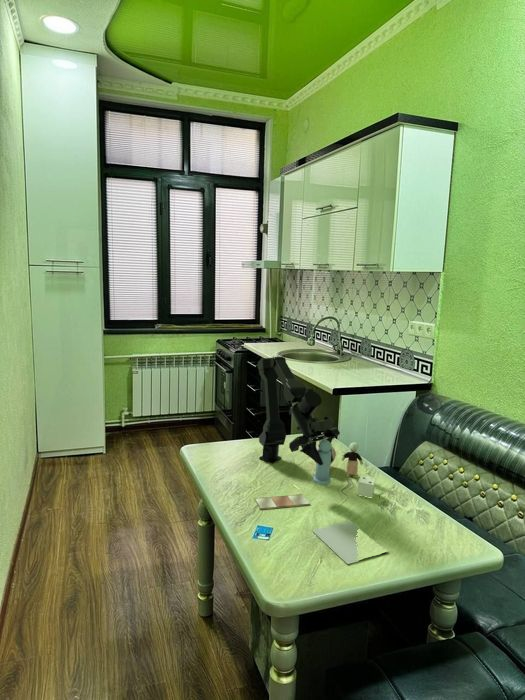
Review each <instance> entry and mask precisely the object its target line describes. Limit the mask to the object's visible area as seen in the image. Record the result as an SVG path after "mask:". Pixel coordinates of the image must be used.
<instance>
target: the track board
mask: <svg viewBox="0 0 525 700" xmlns="http://www.w3.org/2000/svg"><path fill="white" fill-rule="evenodd" d="M253 499H254V501H255V503H256V505H257V506H258V507H259V510H260V511H264V510H265V511H266V510H274V509H275V510H276V509H285V508H296V507H298V508H299V507H305V506H311V503H310V502H309V501H308V499H307V498H306V497H305V495H304V494H303V493H301V494H288V495H278V496H269V497H255V498H253Z"/></svg>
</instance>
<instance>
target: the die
mask: <svg viewBox="0 0 525 700" xmlns="http://www.w3.org/2000/svg"><path fill="white" fill-rule="evenodd" d="M375 485H376V478H373V477H367V476H364V475H363V476H362V475H360V477H359V479H358V481H357V491H356V496H357V495H361V496H367V497H374V494H375ZM373 493H374V494H373Z"/></svg>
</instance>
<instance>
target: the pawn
mask: <svg viewBox="0 0 525 700" xmlns="http://www.w3.org/2000/svg"><path fill="white" fill-rule="evenodd" d="M318 443H319V444H318V445H319V450H318V453H319V455H320V457H321V460H322V462H323V465H319V464H318V463H317V464H316V463H315V464H316V466H315V475H313V479H312V481H313V482H314V483H315V484H317V485H322V486H323V485H324V486H326V485H327V486H328V485H329V484H331V482H332V481H331V480H332V478H331V476H330V472H331V465H330V463H331V453H332V452H331V451H330V450H331V446H332V445H331V444H332V442H331V443H330V442H329V441H328V440H322V441H321V442H318Z"/></svg>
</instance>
